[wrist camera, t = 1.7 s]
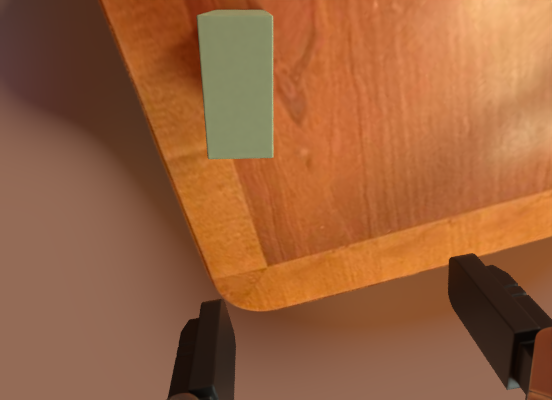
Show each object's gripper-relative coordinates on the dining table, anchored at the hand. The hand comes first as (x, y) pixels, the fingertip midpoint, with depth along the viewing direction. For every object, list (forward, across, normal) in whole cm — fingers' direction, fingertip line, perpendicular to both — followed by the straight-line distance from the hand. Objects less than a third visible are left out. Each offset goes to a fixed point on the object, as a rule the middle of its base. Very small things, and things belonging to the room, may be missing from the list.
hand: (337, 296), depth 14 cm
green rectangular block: (+20, +2, -6) cm, 21 cm away
